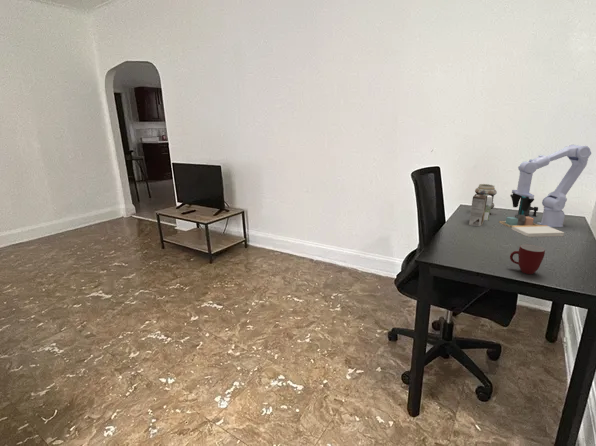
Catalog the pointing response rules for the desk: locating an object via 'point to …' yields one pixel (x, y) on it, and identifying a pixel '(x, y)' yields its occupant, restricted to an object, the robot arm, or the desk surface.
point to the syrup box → (488, 207)
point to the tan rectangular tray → (520, 221)
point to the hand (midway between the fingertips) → (519, 208)
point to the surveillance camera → (521, 212)
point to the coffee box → (478, 209)
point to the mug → (529, 258)
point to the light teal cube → (511, 220)
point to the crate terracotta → (528, 220)
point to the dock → (538, 231)
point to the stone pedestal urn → (486, 191)
